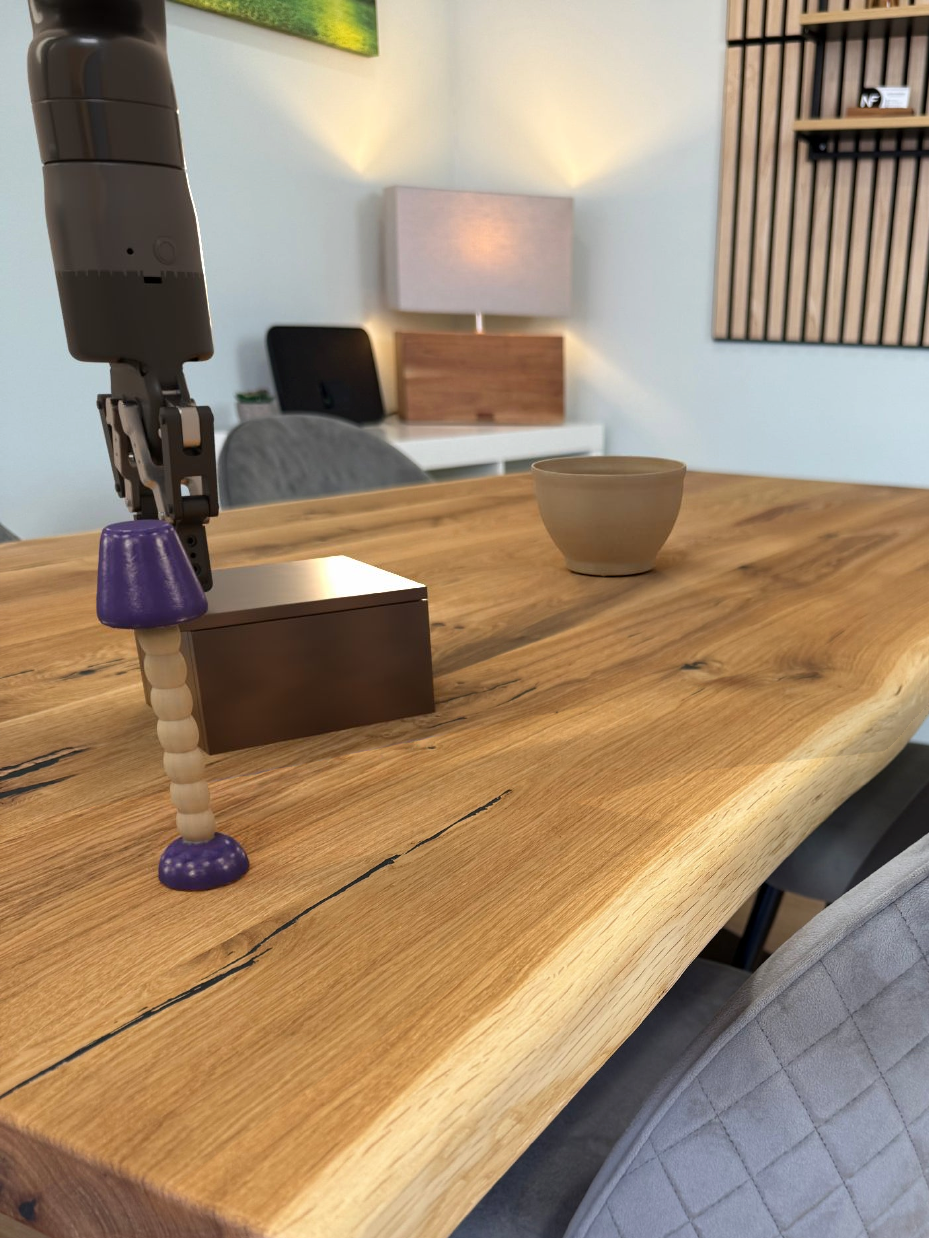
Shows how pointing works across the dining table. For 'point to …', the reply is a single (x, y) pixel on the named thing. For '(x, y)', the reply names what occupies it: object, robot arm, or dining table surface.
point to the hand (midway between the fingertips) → (177, 582)
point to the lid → (299, 591)
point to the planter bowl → (609, 509)
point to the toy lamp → (168, 686)
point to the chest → (306, 674)
